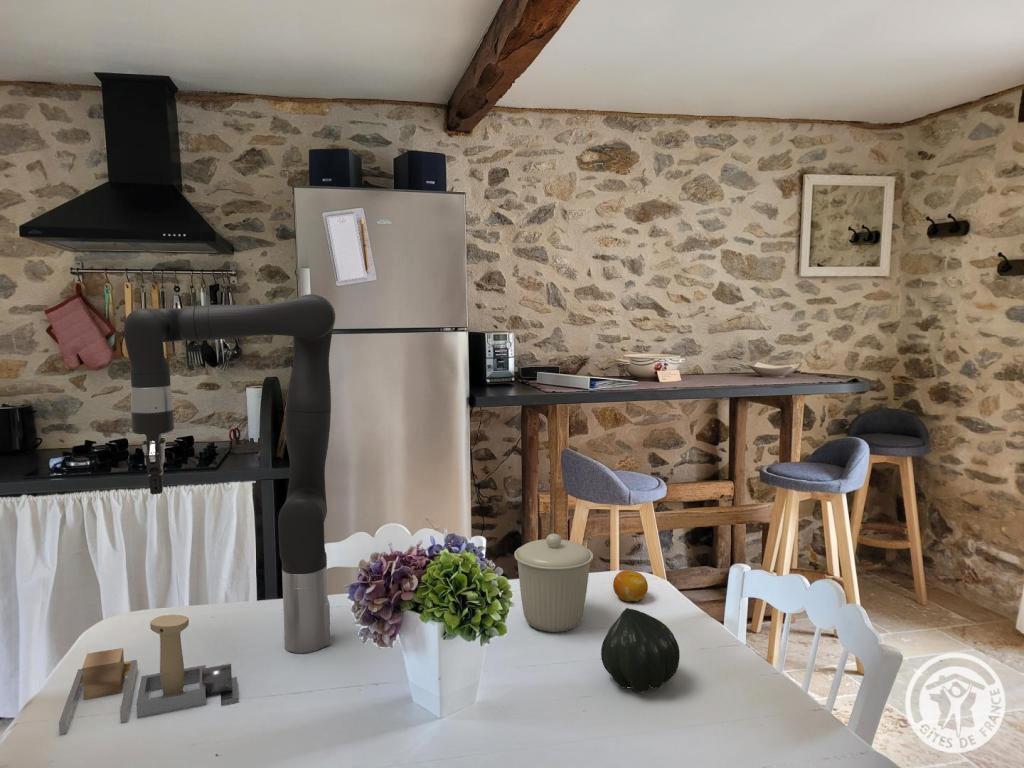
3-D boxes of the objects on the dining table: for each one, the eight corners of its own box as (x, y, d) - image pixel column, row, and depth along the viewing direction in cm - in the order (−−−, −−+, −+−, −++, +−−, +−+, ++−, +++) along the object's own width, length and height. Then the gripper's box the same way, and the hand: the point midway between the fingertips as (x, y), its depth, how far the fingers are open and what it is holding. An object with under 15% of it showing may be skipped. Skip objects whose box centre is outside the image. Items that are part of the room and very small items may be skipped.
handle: (181, 707, 128) (177, 627, 126) (148, 704, 129) (144, 625, 127) (197, 693, 133) (193, 615, 131) (165, 690, 134) (161, 613, 132)
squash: (703, 670, 133) (671, 593, 140) (634, 690, 127) (604, 608, 135) (670, 690, 143) (641, 617, 151) (605, 709, 138) (579, 632, 146)
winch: (236, 679, 140) (235, 652, 139) (238, 705, 131) (237, 676, 130) (142, 696, 133) (141, 668, 133) (137, 725, 124) (136, 695, 124)
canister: (596, 641, 156) (597, 547, 154) (513, 640, 156) (513, 547, 154) (588, 606, 174) (589, 522, 172) (514, 606, 174) (514, 522, 172)
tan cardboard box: (125, 677, 138) (123, 647, 137) (121, 692, 132) (120, 661, 132) (88, 683, 135) (86, 653, 135) (83, 699, 130) (81, 668, 129)
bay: (137, 676, 141) (136, 659, 140) (127, 728, 123) (126, 709, 123) (79, 686, 137) (78, 669, 136) (60, 742, 119) (58, 722, 119)
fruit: (639, 596, 172) (635, 563, 176) (608, 601, 176) (605, 569, 180) (655, 602, 178) (651, 570, 182) (624, 607, 182) (621, 575, 186)
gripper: (171, 412, 138) (175, 499, 140) (174, 403, 150) (178, 484, 152) (127, 414, 135) (132, 503, 137) (134, 405, 147) (138, 487, 149)
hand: (156, 493), depth 145 cm, fingers closed
